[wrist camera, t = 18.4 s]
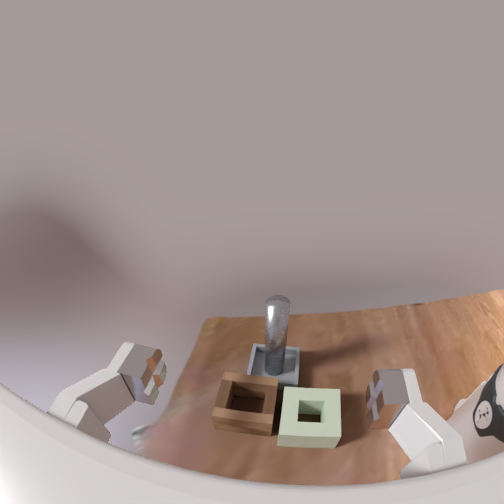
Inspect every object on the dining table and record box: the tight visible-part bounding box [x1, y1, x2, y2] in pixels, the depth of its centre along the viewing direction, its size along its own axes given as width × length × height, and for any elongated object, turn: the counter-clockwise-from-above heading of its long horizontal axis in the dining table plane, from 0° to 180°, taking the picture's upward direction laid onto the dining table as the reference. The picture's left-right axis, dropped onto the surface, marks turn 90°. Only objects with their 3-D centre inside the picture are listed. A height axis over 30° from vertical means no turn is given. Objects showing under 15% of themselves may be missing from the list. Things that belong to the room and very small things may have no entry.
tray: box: [247, 344, 300, 391], centre depth 45 cm, size 8×8×2 cm
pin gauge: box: [264, 295, 290, 376], centre depth 42 cm, size 3×3×14 cm
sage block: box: [277, 387, 341, 448], centre depth 35 cm, size 8×8×4 cm
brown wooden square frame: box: [211, 372, 278, 436], centre depth 37 cm, size 8×8×4 cm
